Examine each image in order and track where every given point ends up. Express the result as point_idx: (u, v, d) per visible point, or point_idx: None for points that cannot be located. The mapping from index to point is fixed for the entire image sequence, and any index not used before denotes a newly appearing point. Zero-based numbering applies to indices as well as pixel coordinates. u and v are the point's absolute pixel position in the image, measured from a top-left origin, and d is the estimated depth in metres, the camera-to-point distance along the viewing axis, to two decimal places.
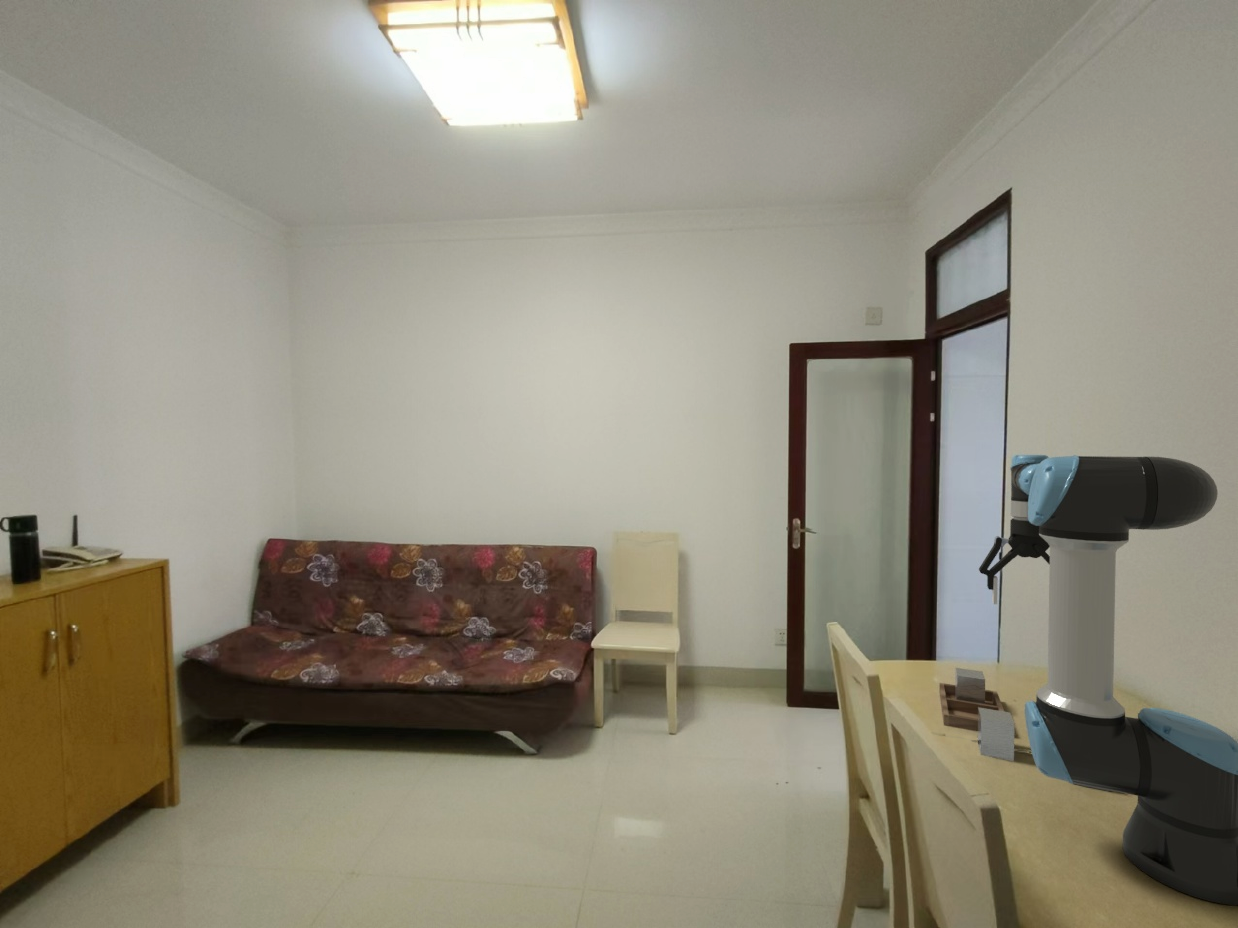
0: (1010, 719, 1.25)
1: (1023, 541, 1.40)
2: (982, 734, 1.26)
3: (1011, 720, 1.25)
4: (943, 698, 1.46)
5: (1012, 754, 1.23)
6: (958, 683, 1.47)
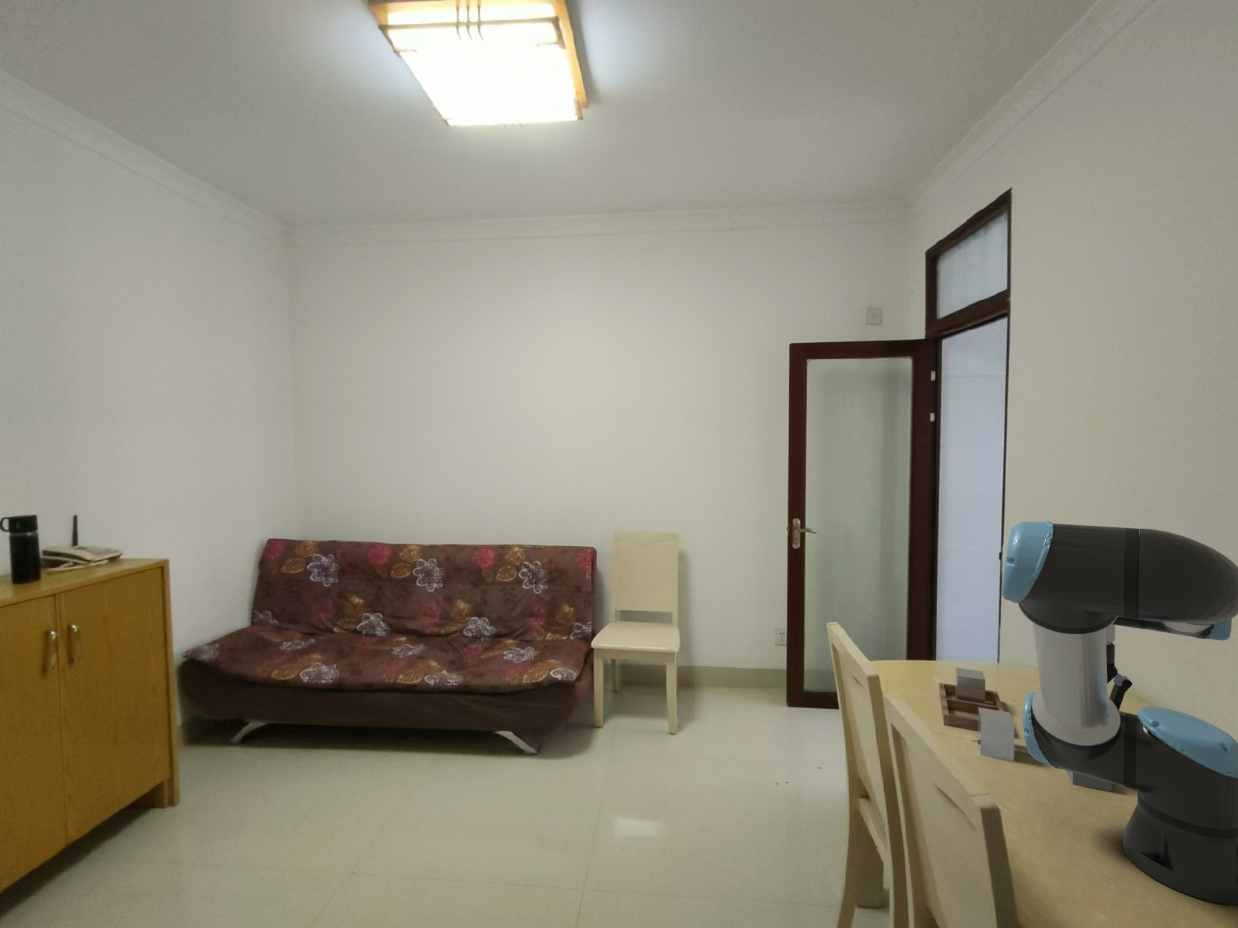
0: (1010, 719, 1.25)
1: None
2: (982, 734, 1.26)
3: (1011, 720, 1.25)
4: (943, 698, 1.46)
5: (1012, 754, 1.23)
6: (958, 683, 1.47)
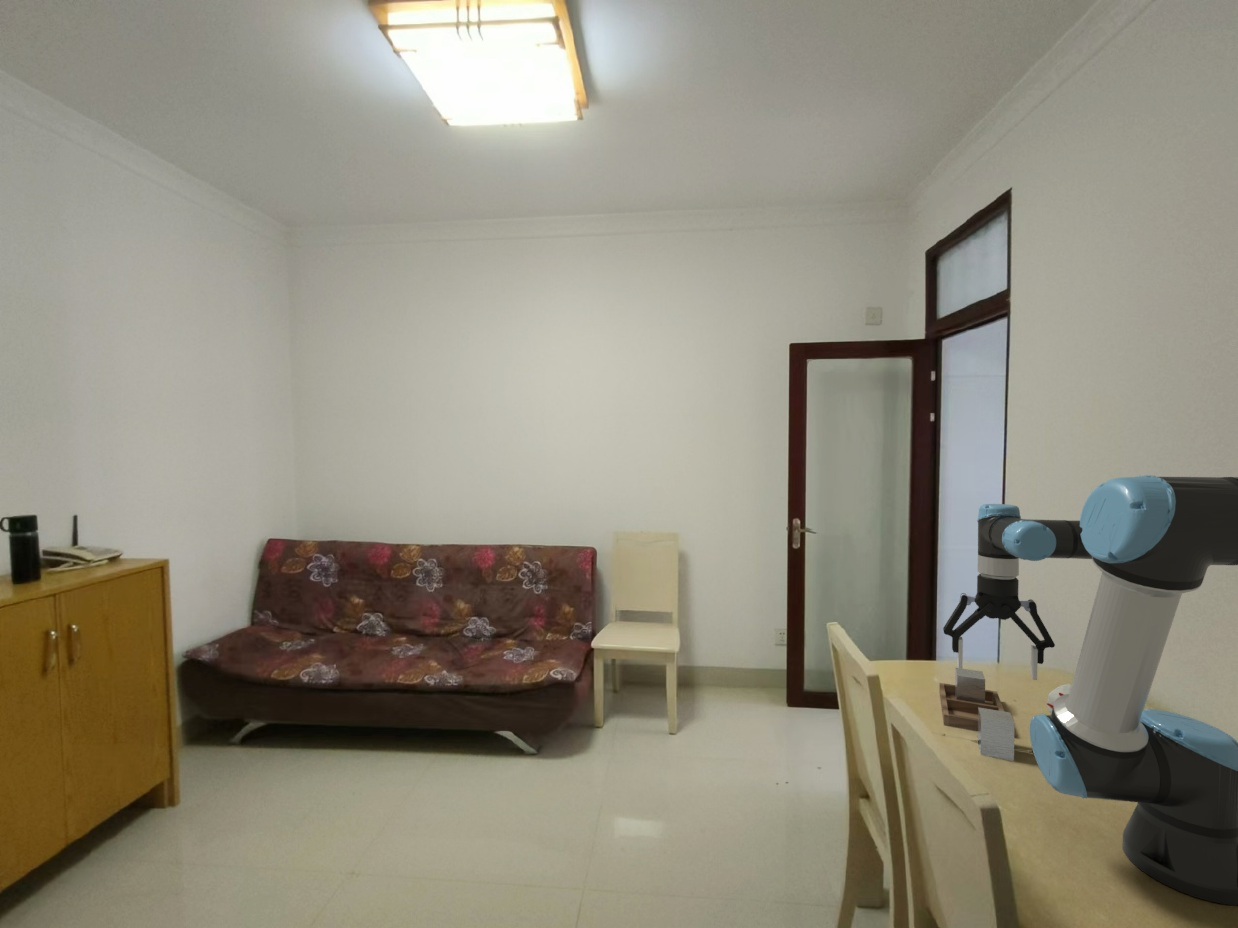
0: (1010, 719, 1.25)
1: (991, 600, 1.26)
2: (982, 734, 1.26)
3: (1011, 720, 1.25)
4: (943, 698, 1.46)
5: (1012, 754, 1.23)
6: (958, 683, 1.47)
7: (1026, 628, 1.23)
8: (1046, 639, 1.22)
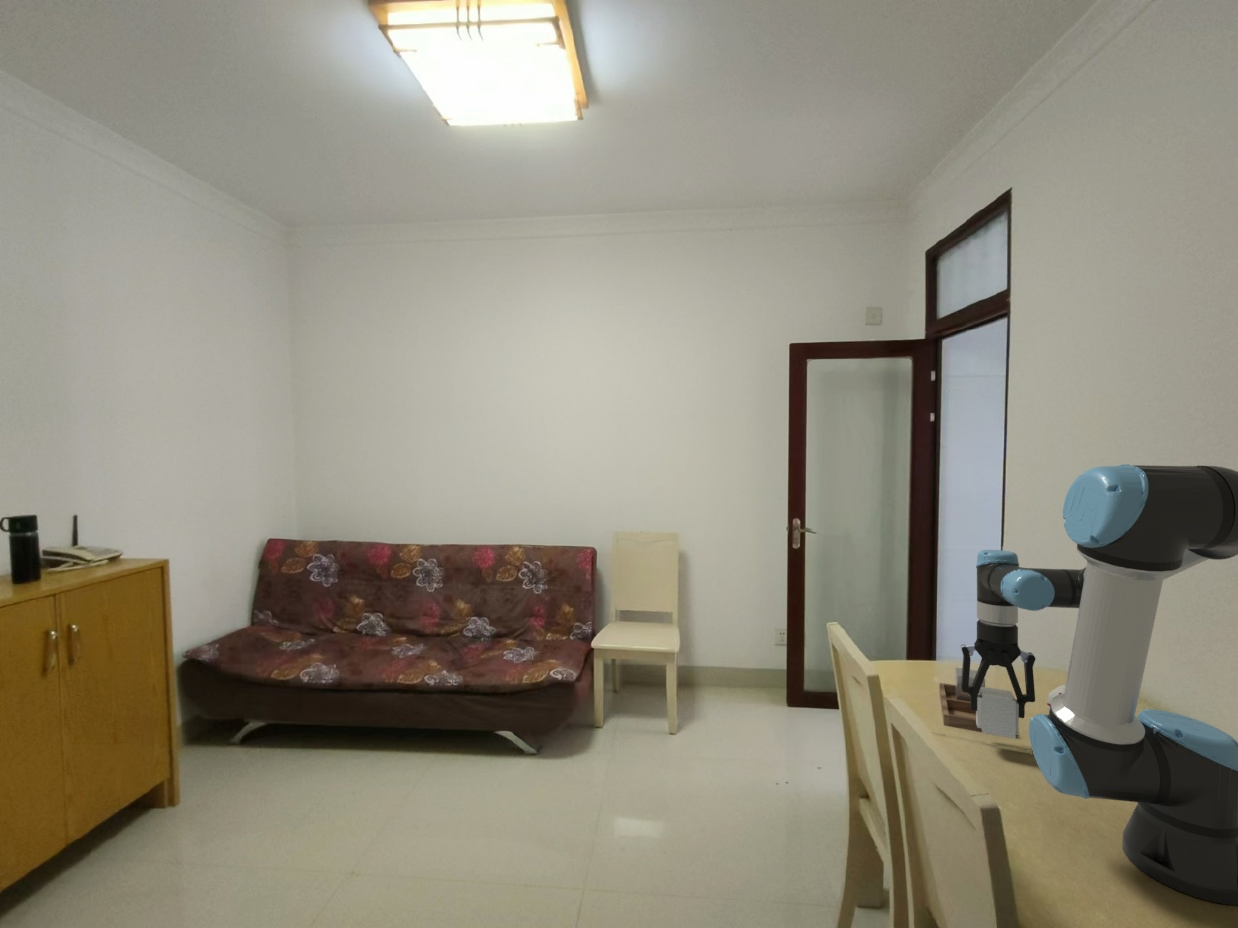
0: (1011, 697, 1.25)
1: (989, 644, 1.26)
2: (983, 712, 1.25)
3: (1012, 697, 1.24)
4: (943, 698, 1.46)
5: (1014, 731, 1.23)
6: (958, 683, 1.47)
7: (1015, 680, 1.24)
8: (1029, 693, 1.23)
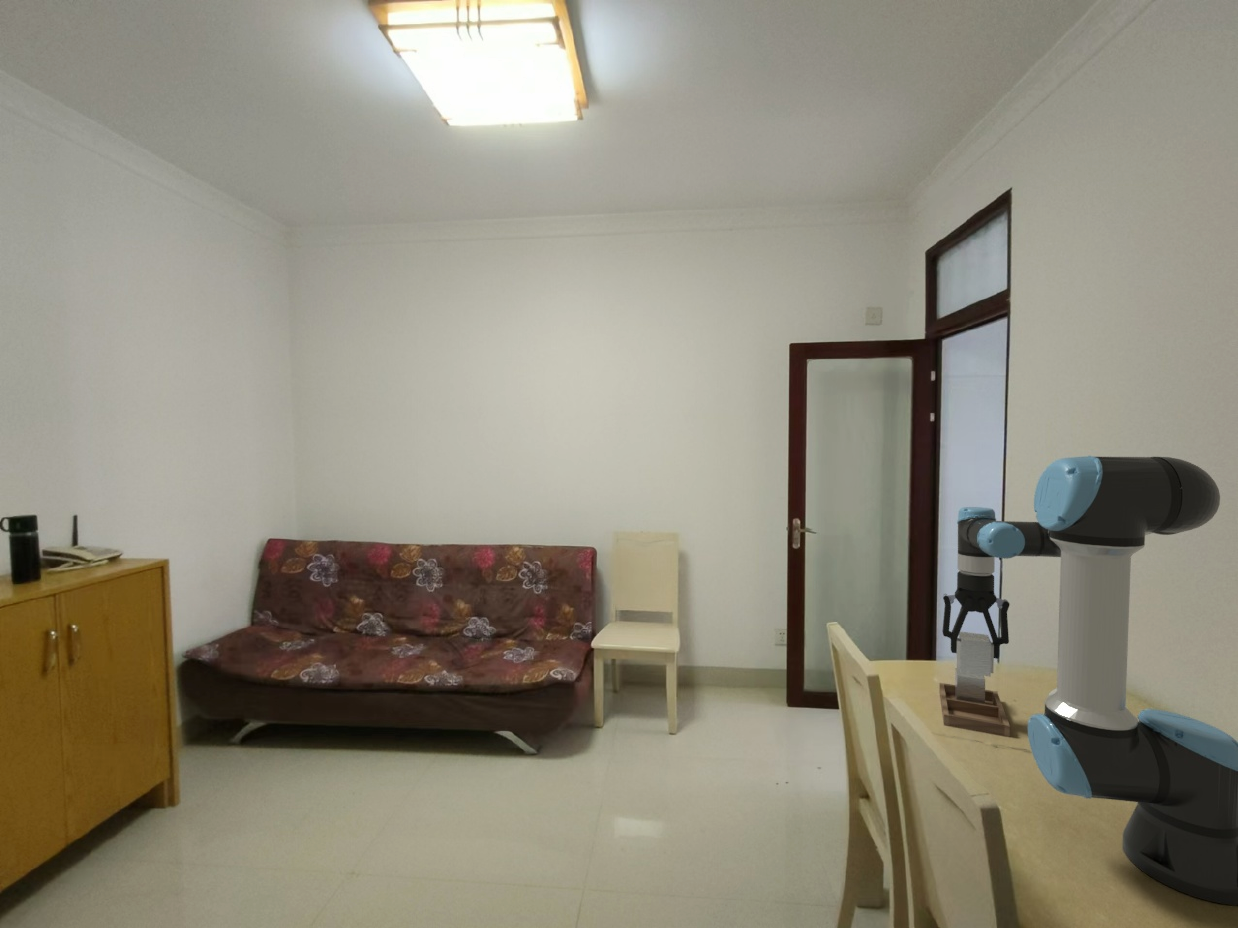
0: (987, 639, 1.37)
1: (968, 592, 1.38)
2: (962, 653, 1.37)
3: (988, 640, 1.36)
4: (943, 698, 1.46)
5: (989, 670, 1.35)
6: (958, 683, 1.47)
7: (991, 624, 1.36)
8: (1003, 635, 1.35)
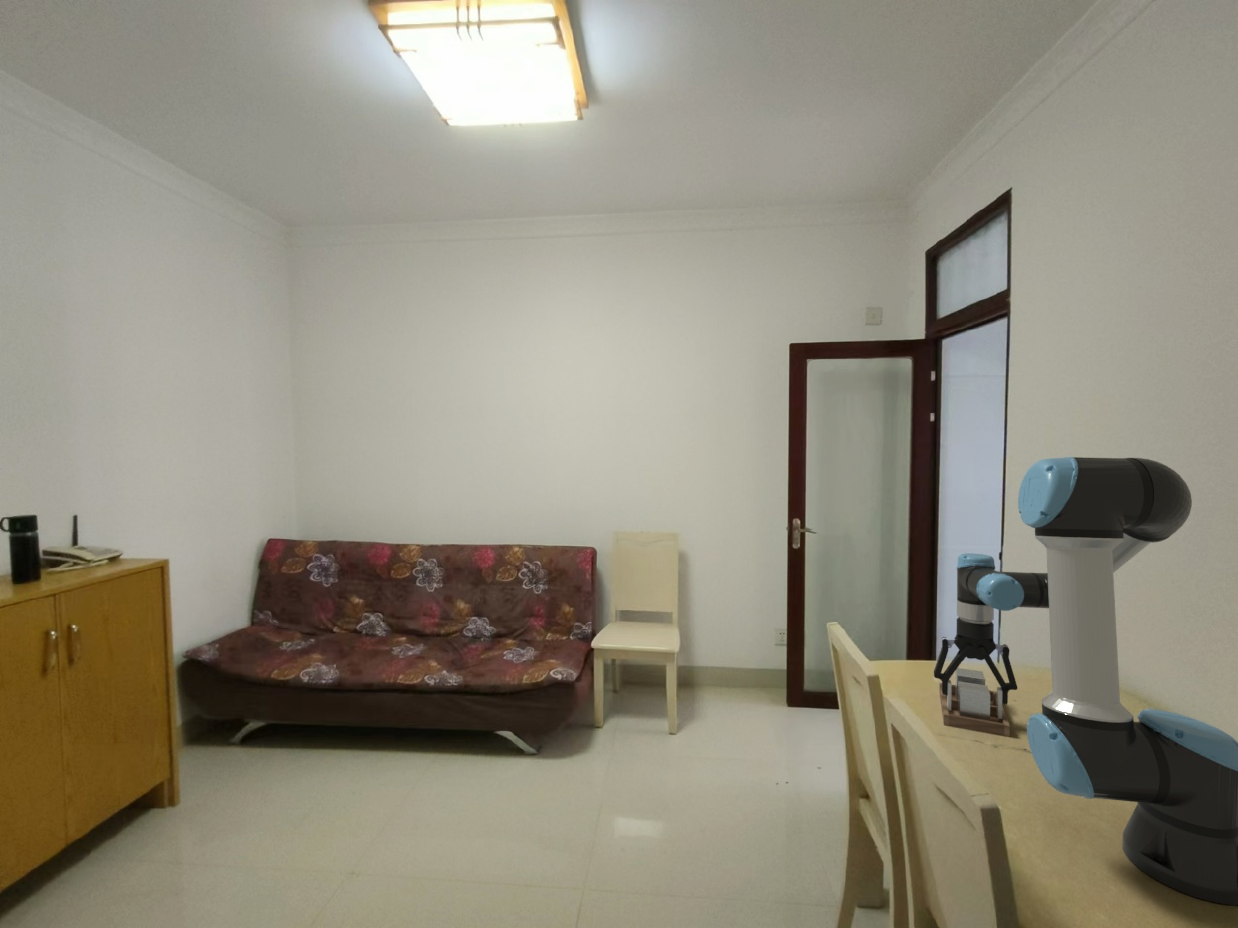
0: (987, 691, 1.37)
1: (968, 641, 1.38)
2: (961, 705, 1.38)
3: (987, 692, 1.37)
4: (943, 698, 1.46)
5: None
6: None
7: (996, 670, 1.36)
8: (1011, 682, 1.35)
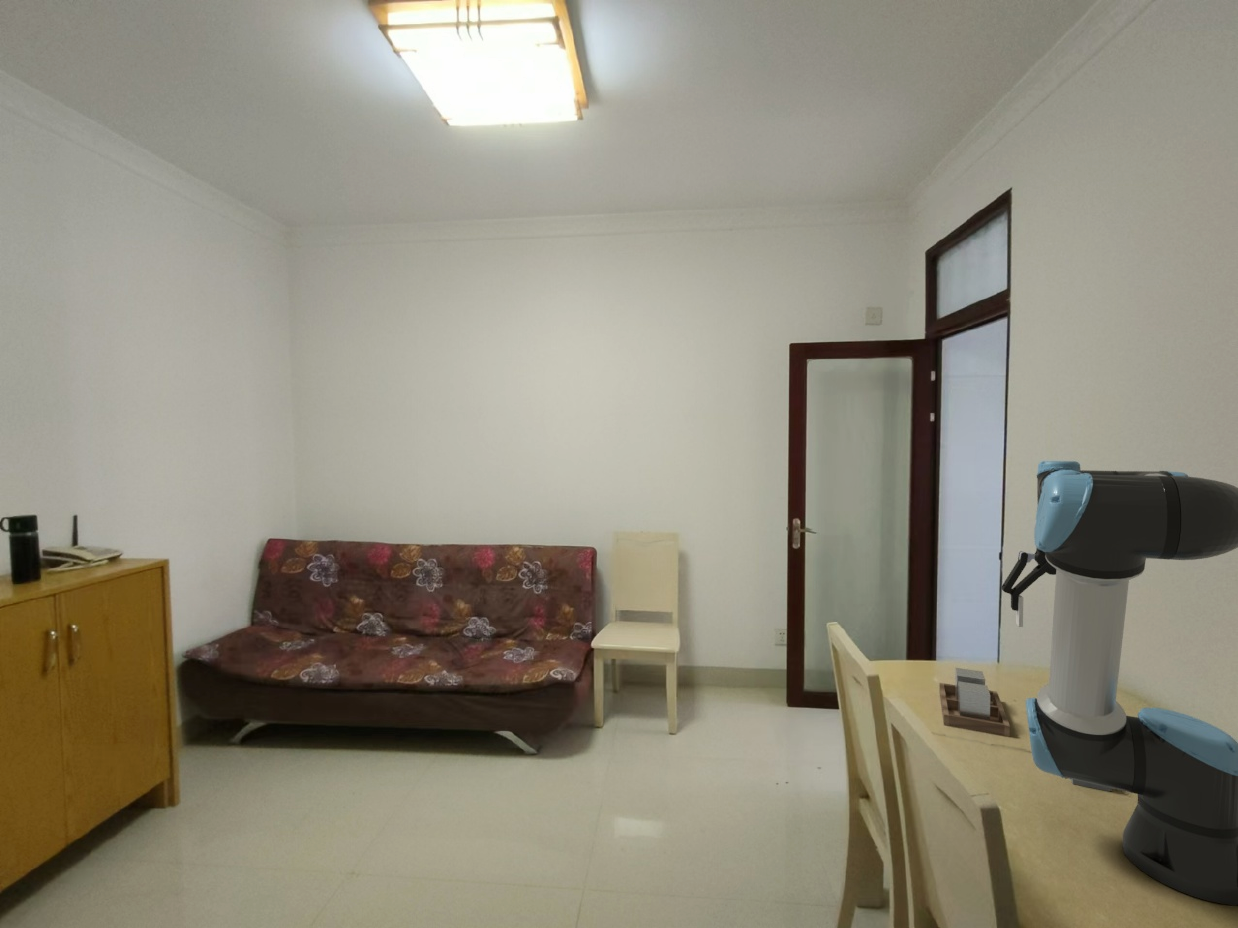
0: (987, 691, 1.37)
1: None
2: (961, 705, 1.38)
3: (987, 692, 1.37)
4: (943, 698, 1.46)
5: None
6: None
7: None
8: None
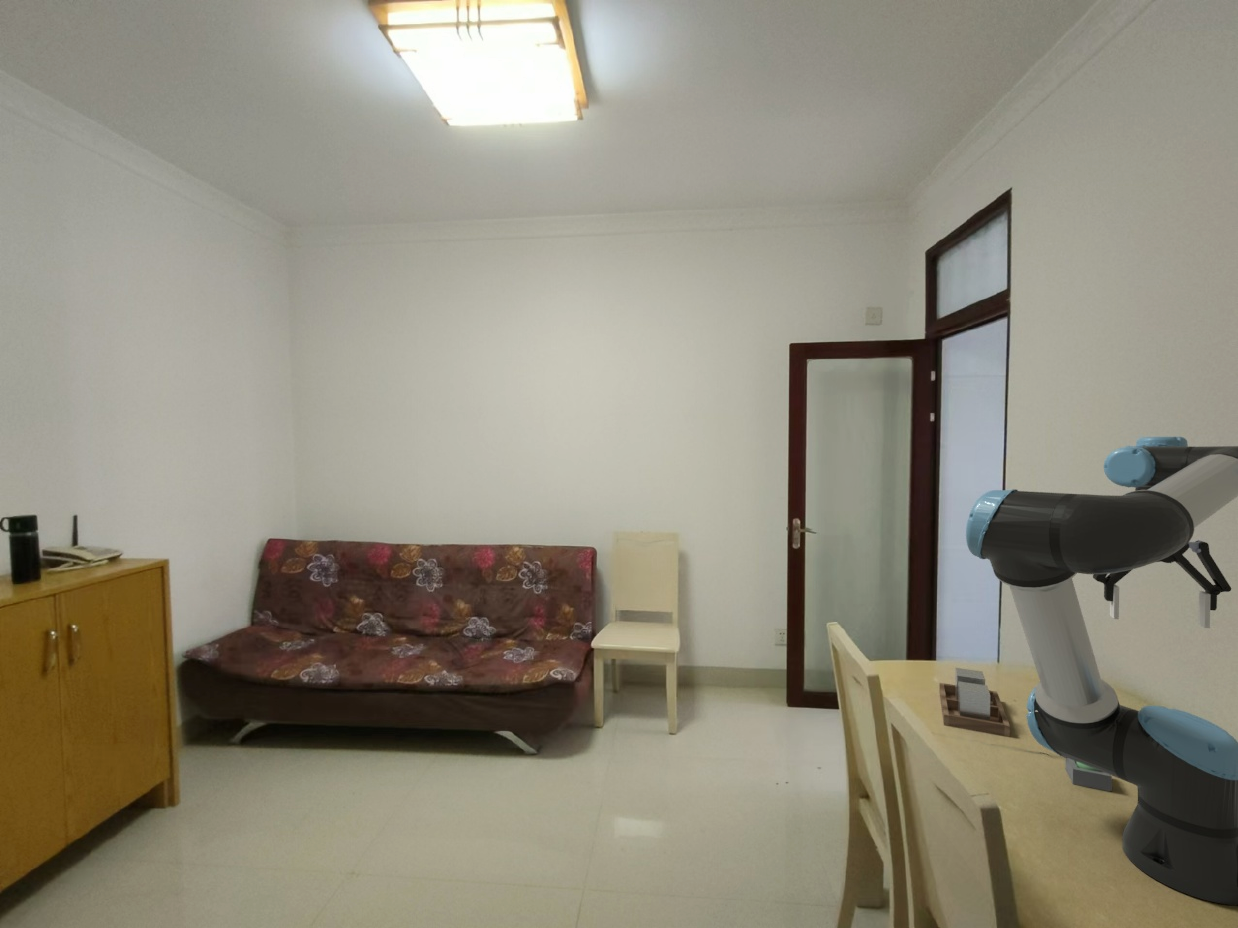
0: (987, 691, 1.37)
1: None
2: (961, 705, 1.38)
3: (987, 692, 1.37)
4: (943, 698, 1.46)
5: None
6: None
7: (1196, 571, 1.12)
8: (1221, 583, 1.10)
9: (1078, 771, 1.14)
